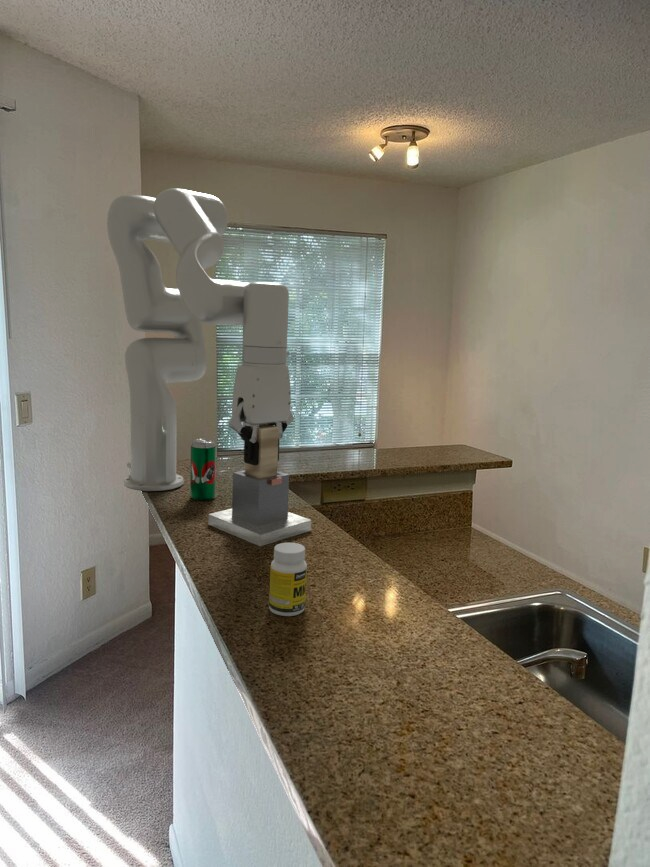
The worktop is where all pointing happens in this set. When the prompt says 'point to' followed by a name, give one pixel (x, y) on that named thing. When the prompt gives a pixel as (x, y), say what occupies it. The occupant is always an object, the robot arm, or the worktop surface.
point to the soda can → (203, 470)
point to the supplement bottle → (288, 580)
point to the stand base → (260, 510)
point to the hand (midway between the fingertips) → (261, 460)
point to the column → (265, 452)
